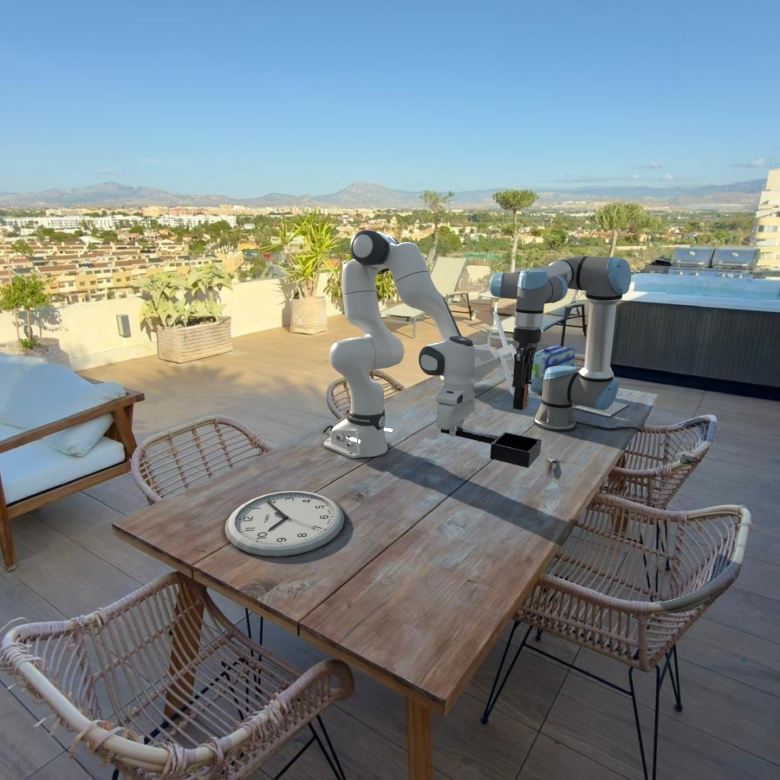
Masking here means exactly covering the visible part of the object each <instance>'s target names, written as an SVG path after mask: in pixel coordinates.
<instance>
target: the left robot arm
mask: <svg viewBox="0 0 780 780" xmlns="http://www.w3.org/2000/svg"><path fill="white" fill-rule="evenodd" d="M349 251H350V254H351V257H352V258H353V259H350V260H347V262H345V263H344V264H343V266H342V269H341V295H342V301H343V308H344V317H345V319H346V321H347V323H349V324H350V325H352V326H354V327H356V328H358V329H359V330H360V332H361V333H362V335H363V336H361V337H350V338H345V339H341V340H339V341H336V342H334V343H333V344H332V345H331V347H330V349H329V352H328V353H329V354H328V359H329V362H330V363H329V364H330V365H331V366H332V368H333V370H335V371H336V372H337V373H339V374H340V375H342V377H343V378H344V379H345V381H346V382H347V385H348V388H349V395H350V397H349V398H350V408H348V409H346V410H345V411H344V413H343V415H344V416H346V418H344V419H343V420H342V421H339V422H337V423H334V424H331V425H328V426H326V427H325V428H324V430H323V431H322V433H323V434H325V433H326V432H327V431H328V429H330V436H329V437H328V438H327V439H325V440H324V442H323V447H324V448H326V449H327V450H331V451H334V452H336V453H338V454H341V455H342V456H344V457H347V458H349V459H359V458H371V457H372V458H373V457H378V456H382V455H383V454H385V453H386V452H388V450H389V446H388V443H387V438H386V431H387V432H393V429H392V428H387V427H385V423H386V410H385V390H384V387H383V386H382V384H381V383H380V382H378V381H376V380H375V379H372V378H371V377H370V372H371V371H376V370H383V369H389V368H391V367H394V366H397V365H399V364H401V362H402V361H403V359H404V356H405V346H404V344H403V341H402V340H401V338H399V337H398V336H396V335H395V334H393V333H392V332H391V331H390V329H388V327H387V325H386V324H385V322H384V320H383V318H382V315H381V311H380V305H379V299H378V292H377V285H376V277H377V275H383V274H385V273H386V272H388V271H390V274H391V276H392V280H393V282H394V286H395V290H396V292H397V295H398V297H399V298H400V300H401V302H402V303H403V304H405V306H408V307H409V308H412V309H414V310H418V311H421V312H423V313H425V314H427V315H428V316H430V318H431V319H432V320H433V322H434V324H435V326H436V328H437V332H438V333H439V336H440V337H441V340H442V341H440V342H435V343H431V344H428V345H425V346H424V347H422V348H421V349H420V351H419V354H418V365H419V367H420V369H421V371H422V372H423V373H424V374H425V375H427V376H431V377H432V376H434V377H438V376H439V377H441V376H443V377H444V382H443V385H442V387H441V389H440V390H439V392H438V393H437V394H436V397H435V401H436V402H437V406H436V419H435V420H436V426H437V428H438V429H439V430H441V429H445V430H449V431H450V434H448V435H449V437H453V438H455V437H457V436H456V435H457V430H456V428H455V427H459V428H463V426H464V423H465V419H466V418H467V417H469V416H470V415H471V414H473V413H474V412H475V409H476V408H475V406H476V393H475V391H474V386H475V385H474V384H475V383H474V380H473V372H474V369H475V347H474V346H475V344H474V341H473V340H472V339H470V338H469V337H466V336H463V334H462V333H461V332H460V330H459V327H458V324H457V322H456V320H455V317H454V315H453V313H452V311H451V309H450V307H449V305H448V302H447V300H446V298H445V297H444V296H443V294H441V292H439V290H438V288H437V286H436V284H434V282H433V279H432V277H431V273H430V271H429V268H428V265H427V263H426V260H425V259H424V256H423V254H422V252H421V250H420V248H419V246H418V245H416V244H415V243H413V242H407V241H405V242H402V243H400V241H398V240H397V239H396V238H394V237H392V236H390V235H388V234H386V233H384V232H382V231H381V232H380V231H375V230H373V229H363V230H360V231H358V232H356V233H355V234H354V235H353V236H352V238H351V240H350V244H349Z"/></svg>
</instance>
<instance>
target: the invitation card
mask: <svg viewBox="0 0 780 780" xmlns="http://www.w3.org/2000/svg"><path fill="white" fill-rule="evenodd" d="M628 406H629V404H627V403H623V402H618V401H615V400H614V401H613V403H612V405H611V406H610V407H609V408H608V409H606V410H599V409H593V408H590V407H586V406H582V405H578V404H577V405H575V406H574V407H573V409H575V410H581V411H584V412H587V413H593V414H596V415H600V416H604V417H608V418H609V417H611V416H613V415H614V414H616V413H617V412H619V411H621V410H623V409H624V408H626V407H628Z"/></svg>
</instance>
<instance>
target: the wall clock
mask: <svg viewBox="0 0 780 780" xmlns="http://www.w3.org/2000/svg"><path fill="white" fill-rule="evenodd" d="M344 515H345V514H344V511H343V509H342V508H341V507H340V505H338V503H336V502H335V501H334V500H333V499H332V500H331V499H330V498H329V497H327V496H324V495H322V494H318V493H316V492H311V491H310V492H309V491H305V490H304V491H303V490H284V491H276V492H272V493H267V494H264V495H260V496H257V497H255V498H252V499H250V500H248V501H246V502H245V503H243V504H241V505H240V506H238V508H236V509H235V510H233V511H232V512H231V513H230V515H229V517H228V518H227V520H226V521H225V527H224V532H225V536H226V538H227V540H228V541H229V542H230V544H231V545H233V546H234V547H235V548H237V549H240V550H241V551H244V552H245V553H248V554H252V555H256V556H262V557H287V556H294V555H296V556H297V555H299V554H304V553H307V552H311V551H313V550H316V549H318V548H320V547H322V546H324V545H327V544H328V543H329V542H331V541H332V540H333V539H335V538H336V537H337V536H338V534H339V533H340V532H341V530H342V529H343V527H344V522H345V516H344Z"/></svg>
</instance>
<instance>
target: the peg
mask: <svg viewBox="0 0 780 780" xmlns="http://www.w3.org/2000/svg"><path fill="white" fill-rule="evenodd" d="M528 385H529V384H528ZM528 385H526V384H524V388H525V392H524V402H523V410H526V408H527V406H526V397H527V388H528V389H529V387H528ZM527 398H528V397H527ZM523 410H522V411H523Z"/></svg>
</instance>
